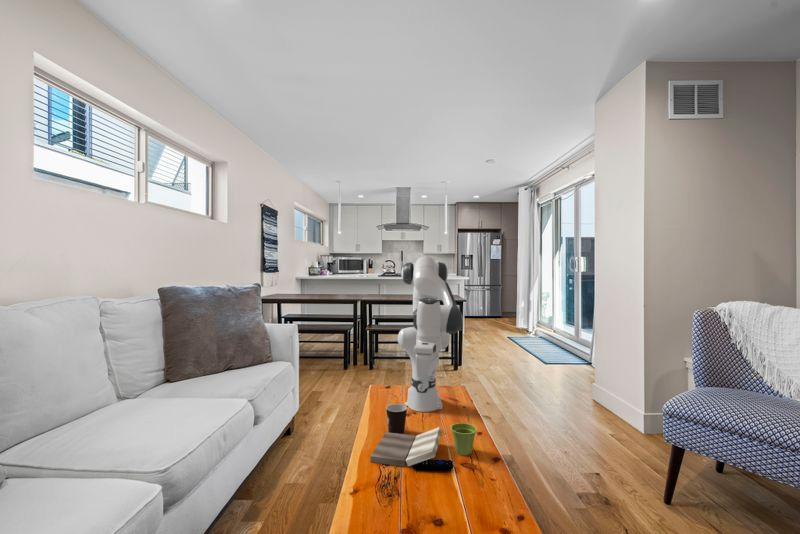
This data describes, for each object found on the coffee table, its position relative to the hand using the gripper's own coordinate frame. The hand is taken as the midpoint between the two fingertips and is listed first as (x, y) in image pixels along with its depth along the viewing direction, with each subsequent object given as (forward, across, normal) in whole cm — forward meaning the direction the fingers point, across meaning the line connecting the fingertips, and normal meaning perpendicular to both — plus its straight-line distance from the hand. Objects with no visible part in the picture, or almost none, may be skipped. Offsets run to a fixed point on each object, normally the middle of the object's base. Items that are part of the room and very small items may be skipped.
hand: (428, 384), depth 129 cm
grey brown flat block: (+26, -4, -14) cm, 30 cm away
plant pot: (+26, -11, +11) cm, 30 cm away
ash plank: (+24, -4, -2) cm, 24 cm away
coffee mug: (+26, -20, -18) cm, 37 cm away
